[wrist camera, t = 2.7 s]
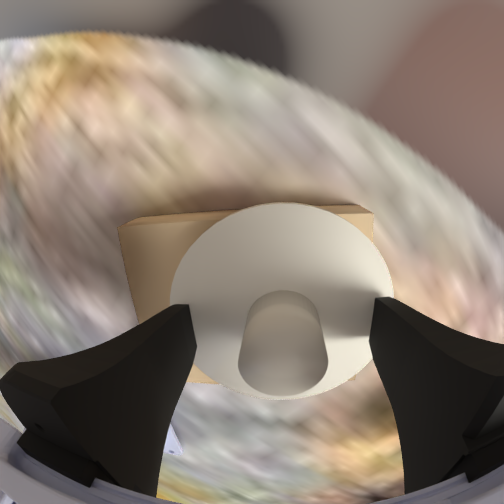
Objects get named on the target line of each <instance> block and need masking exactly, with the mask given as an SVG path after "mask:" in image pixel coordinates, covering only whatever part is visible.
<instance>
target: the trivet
mask: <svg viewBox="0 0 504 504" xmlns="http://www.w3.org/2000/svg"><path fill="white" fill-rule="evenodd" d="M316 207H319V208H322V209H326V210H328V211H330V212H332V213H335V214H337V215H339V216H341V217H342V218H344V219H345V220H347V221H348V222H350V223H351V224H353V225H354V226H355V227H357V228H358V229H359V230H360V231H361V232H362V233H363V234H364V235H365V236H366V237H367V238H369V239H370V241H371V242H373V214H374V213H372V212H370V211H368V210H367V209H365V208H363V207H361V206H360V205H331V206H316ZM239 210H242V209H237V210H221V211H207V212H194V213H182V214H170V215H159V216H149V217H139V218H136V219H134V220H132V221H130V222H128V223H126V224H124V225H121V226H119V227H117V229H118V234H119V240H120V245H121V250H122V256H123V260H124V265H125V270H126V274H127V279H128V283H129V287H130V291H131V295H132V299H133V303H134V307H135V311H136V314H137V318H138V321H139V324H141V323H143V322H144V321H146V320H148V319H149V318H151V317H152V316H154V315H156V314H157V313H159V312H161V311H162V310H164V309H166V308H168V307H169V306H170V293H171V286H172V282H173V279H174V276H175V272H176V270H177V268H178V266H179V264H180V262H181V260H182V258H183V257H184V255H185V254H186V252H187V251H188V249H189V248H190V247H191V245H192V244H193V243H194V242H195V241H196V240H197V239H198V238H199V237H200V236H201V235H202V234H203V233H204V232H205V231H206V230H207V229H209V228H210V227H211V226H213V225H214V224H215V223H216V222H218V221H220V220H221V219H223V218H225V217H226V216H228V215H230V214H232V213H234V212H237V211H239ZM355 377H356V374H355V375H354V376H353V377H352V378H350V379H349V380H355ZM349 380H347V381H349ZM186 382H194V383H208V384H219V383H217V382H216V381H214V380H212V379H211V378H210V377H208V376H207V375H206V374H204V373H203V372H202V371H201V370H200V369H199V368H198V367H197V366H196V365H195V364H194V363H193V366H192V369H191V371H190V374H189V376H188V378H187V381H186Z"/></svg>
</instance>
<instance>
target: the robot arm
mask: <svg viewBox="0 0 504 504" xmlns="http://www.w3.org/2000/svg"><path fill="white" fill-rule="evenodd" d="M369 345H370V349H371V353H372V357H373V360H374V363H375V366H376V368H377V371H378V373H379V375H380V378H381V380H382V383H383V385H384V388H385V390H386V392H387V395H388V397H389V400H390V403H391V405H392V409H393V412H394V416H395V420H396V424H397V429H398V434H399V439H400V445H401V451H402V459H403V469H404V485H405V495H402V496H398V497H394V498H390V499H386V500H382V501H378V502H373V503H368V504H504V344H499V343H495V342H490V341H486V340H483V339H479V338H476V337H473V336H470V335H467V334H464V333H462V332H459V331H456V330H454V329H452V328H449V327H447V326H445V325H443V324H441V323H439V322H437V321H435V320H433V319H431V318H429V317H427V316H425V315H423V314H422V313H420V312H418V311H416V310H415V309H413V308H411V307H409V306H407V305H406V304H404V303H402V302H400V301H398V300H396V299H394V298H392V297H378V298H375V302H374V309H373V316H372V323H371V329H370V336H369ZM196 350H197V343H196V338H195V333H194V328H193V323H192V318H191V313H190V308H189V304H174V305H171V306H169V307H168V308H166V309H164V310H162V311H161V312H159V313H157V314H156V315H154V316H152V317H151V318H149V319H148V320H146V321H144V322H143V323H141V324H139V325H138V326H136V327H134V328H132V329H130V330H129V331H127V332H125V333H123V334H121V335H119V336H117V337H115V338H113V339H111V340H109V341H107V342H105V343H102V344H100V345H97V346H95V347H92V348H89V349H86V350H83V351H80V352H77V353H74V354H70V355H66V356H62V357H58V358H53V359H47V360H40V361H30V362H19V363H17V364H15V365H14V366H13V367H12V368H11V369H10V370H9V371H8V372H7V373H6V374H5V375H4V376H3V377H2V378H1V379H0V391H1V393H2V395H3V397H4V399H5V400H6V402H7V404H8V405H9V407H10V408H11V409H12V411H13V412H14V414H15V415H16V416H17V418H18V419H19V420H20V422H21V423H22V424H23V426H24V427H25V428H24V431H23V434H22V433H21V432H20V431H19V430H17V429H16V428H15V427H13V426H12V425H10V424H9V423H7V422H6V421H4V420H3V419H1V418H0V504H181V503H177V502H172V501H167V500H163V499H159V498H156V495H157V486H158V478H159V472H160V466H161V461H162V455H163V453H168V454H174V455H182V454H183V452H184V451H183V449H182V447H181V444H180V442H179V440H178V438H177V436H176V434H175V432H174V430H173V427H172V425H171V423H170V422H171V418H172V415H173V412H174V410H175V407H176V405H177V402H178V400H179V398H180V395H181V393H182V390H183V388H184V386H185V383H186V381H187V378H188V376H189V374H190V371H191V369H192V366H193V362H194V358H195V354H196Z"/></svg>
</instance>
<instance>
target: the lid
mask: <svg viewBox="0 0 504 504" xmlns="http://www.w3.org/2000/svg"><path fill="white" fill-rule="evenodd" d="M378 297H392V298H394V294H393V285H392V280H391V276H390V273H389V271H388V268H387V265H386V263H385V261H384V259H383V257H382V256H381V254H380V252H379V251H378V249H377V248H376V247H375V246H374V244H373V243H372V242H371V241H370V239H369V238H367V237H366V236H365V235H364V234H363V233H362V232H361V231H360V230H359V229H358V228H357V227H355V226H354V225H353V224H351V223H350V222H348V221H347V220H345V219H344V218H342V217H341V216H339V215H337V214H335V213H332V212H330V211H328V210H326V209H322V208H319V207H316V206H313V205H308V204H302V203H296V202H274V203H265V204H259V205H255V206H251V207H248V208H244V209H242V210H239V211H237V212H234V213H232V214H230V215H228V216H226V217H225V218H223V219H221V220H220V221H218V222H216V223H215V224H214V225H213V226H211V227H210V228H209V229H207V230H206V231H205V232H204V233H203V234H202V235H201V236H200V237H199V238H198V239H197V240H196V241H195V242H194V243H193V244H192V245H191V247H190V248H189V249H188V251H187V252H186V254H185V255H184V257H183V258H182V260H181V262H180V264H179V266H178V268H177V270H176V272H175V276H174V279H173V282H172V286H171V293H170V306H171V305H174V304H189V308H190V313H191V318H192V323H193V328H194V333H195V338H196V343H197V350H196V354H195V358H194V362H193V363H194V364H195V365H196V366H197V367H198V368H199V369H200V370H201V371H202V372H203V373H204V374H206V375H207V376H208V377H210V378H211V379H212V380H214V381H216V382H217V383H219V384H221V385H222V386H224V387H226V388H229V389H231V390H233V391H235V392H238V393H241V394H244V395H247V396H252V397H256V398H262V399H270V400H289V399H299V398H304V397H309V396H313V395H317V394H320V393H323V392H325V391H328V390H330V389H333V388H335V387H337V386H338V385H340V384H342V383H344V382H345V381H347V380H349V379H350V378H352V377H353V376H354V375H355V374H357V373H358V372H359V371H360V370H361V369H363V368H364V367H365V366H366V365H367V363H368V362H369V361H370V360H371V359H372V358H373V357H372V353H371V349H370V345H369V336H370V329H371V323H372V316H373V309H374V302H375V298H378Z"/></svg>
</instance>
